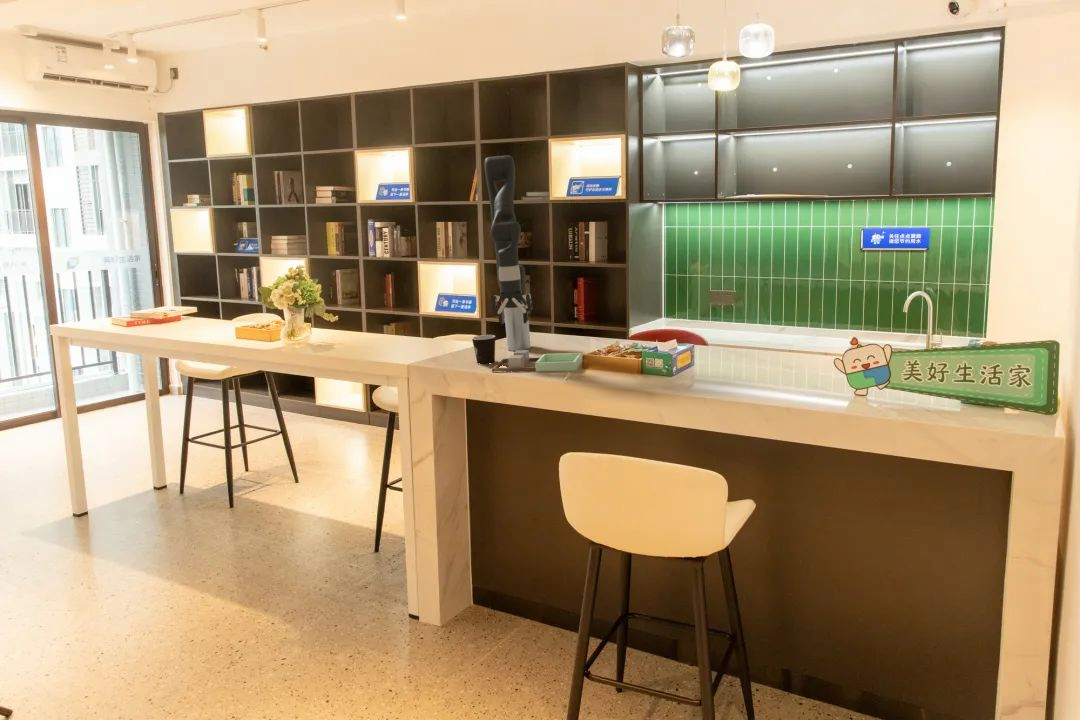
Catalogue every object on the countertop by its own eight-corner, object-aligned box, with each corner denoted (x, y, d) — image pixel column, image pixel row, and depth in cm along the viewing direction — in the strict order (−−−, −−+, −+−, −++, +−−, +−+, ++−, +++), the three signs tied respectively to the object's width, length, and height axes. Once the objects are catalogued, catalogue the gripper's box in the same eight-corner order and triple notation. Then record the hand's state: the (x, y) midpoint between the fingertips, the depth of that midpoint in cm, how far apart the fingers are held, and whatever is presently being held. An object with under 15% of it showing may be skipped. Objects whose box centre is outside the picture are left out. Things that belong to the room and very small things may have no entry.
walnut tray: (503, 362, 306) (503, 358, 306) (546, 361, 303) (545, 357, 302) (492, 373, 291) (491, 369, 291) (536, 372, 288) (536, 367, 287)
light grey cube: (512, 367, 296) (511, 355, 295) (524, 367, 295) (523, 354, 294) (509, 370, 291) (508, 358, 290) (521, 370, 290) (520, 357, 289)
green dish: (544, 363, 300) (543, 354, 299) (582, 362, 297) (581, 352, 296) (535, 372, 287) (535, 363, 286) (575, 371, 283) (574, 361, 283)
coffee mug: (496, 365, 303) (494, 338, 301) (473, 367, 303) (470, 340, 301) (499, 358, 314) (496, 332, 312) (476, 360, 315) (473, 334, 313)
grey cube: (517, 362, 303) (516, 350, 302) (529, 362, 302) (528, 350, 301) (514, 365, 299) (513, 353, 298) (526, 364, 298) (525, 352, 297)
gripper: (531, 275, 294) (535, 320, 298) (493, 277, 297) (497, 322, 301) (526, 279, 287) (530, 324, 291) (487, 281, 290) (491, 326, 294)
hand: (513, 323), depth 296 cm, fingers open, 8 cm apart
